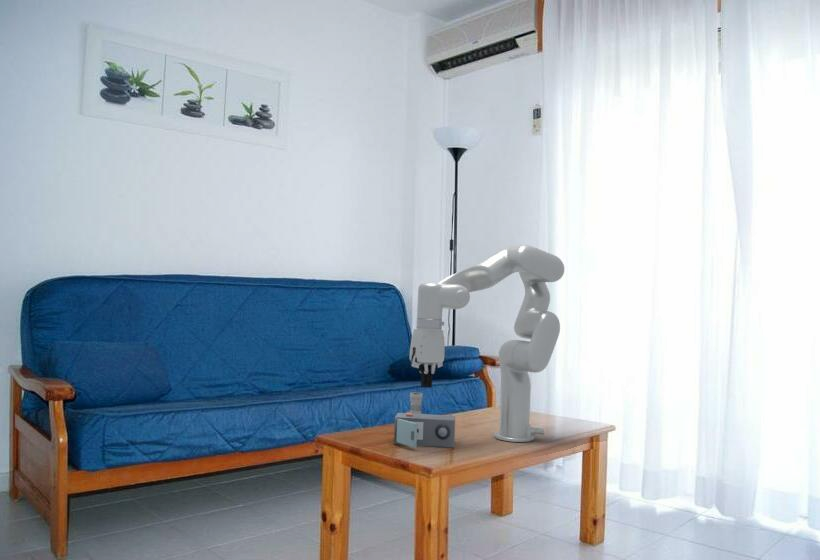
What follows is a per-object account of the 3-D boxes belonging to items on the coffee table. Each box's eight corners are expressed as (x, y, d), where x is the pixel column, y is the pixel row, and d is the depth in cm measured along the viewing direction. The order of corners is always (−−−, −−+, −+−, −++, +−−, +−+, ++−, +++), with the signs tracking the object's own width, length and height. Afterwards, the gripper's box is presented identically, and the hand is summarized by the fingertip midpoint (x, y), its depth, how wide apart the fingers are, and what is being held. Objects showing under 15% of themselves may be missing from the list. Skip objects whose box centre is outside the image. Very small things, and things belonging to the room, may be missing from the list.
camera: (420, 391, 225) (448, 398, 213) (419, 425, 225) (446, 434, 213) (400, 392, 220) (427, 399, 208) (398, 427, 219) (425, 436, 207)
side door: (416, 447, 186) (417, 423, 186) (411, 447, 185) (412, 423, 185) (398, 441, 192) (399, 418, 193) (394, 442, 191) (395, 419, 191)
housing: (454, 441, 200) (455, 413, 200) (453, 448, 191) (454, 419, 191) (396, 438, 201) (397, 410, 202) (393, 444, 192) (394, 415, 193)
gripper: (441, 324, 199) (438, 384, 198) (401, 323, 190) (398, 386, 189) (456, 326, 192) (453, 387, 192) (416, 325, 184) (413, 389, 183)
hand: (426, 386), depth 190 cm, fingers closed
